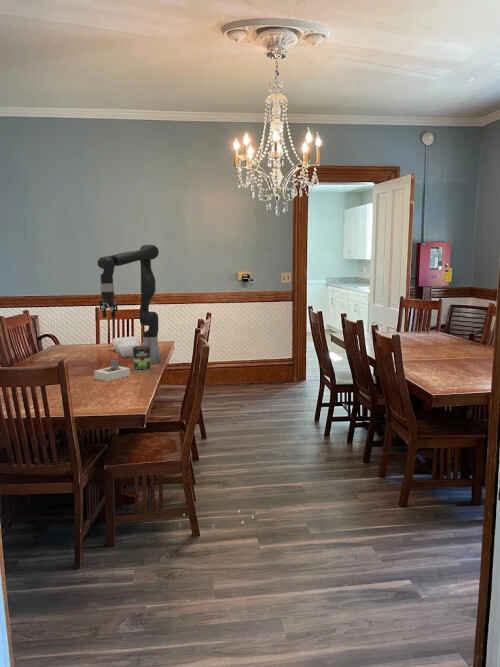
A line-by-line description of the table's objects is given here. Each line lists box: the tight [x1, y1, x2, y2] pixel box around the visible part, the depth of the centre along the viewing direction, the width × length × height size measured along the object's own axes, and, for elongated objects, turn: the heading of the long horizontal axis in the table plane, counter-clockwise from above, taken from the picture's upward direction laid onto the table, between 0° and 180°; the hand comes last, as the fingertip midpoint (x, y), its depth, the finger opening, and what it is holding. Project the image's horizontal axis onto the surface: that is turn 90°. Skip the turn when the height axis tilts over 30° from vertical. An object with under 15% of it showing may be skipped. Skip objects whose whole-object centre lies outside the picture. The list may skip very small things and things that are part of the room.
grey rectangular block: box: [110, 359, 120, 372], centre depth 294 cm, size 6×4×9 cm, turn 141°
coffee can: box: [132, 345, 152, 373], centre depth 311 cm, size 10×10×14 cm
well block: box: [93, 365, 131, 382], centre depth 294 cm, size 16×12×4 cm
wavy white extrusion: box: [111, 336, 142, 359], centre depth 361 cm, size 35×16×11 cm, turn 23°
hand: (109, 317), depth 307 cm, fingers open, 8 cm apart
